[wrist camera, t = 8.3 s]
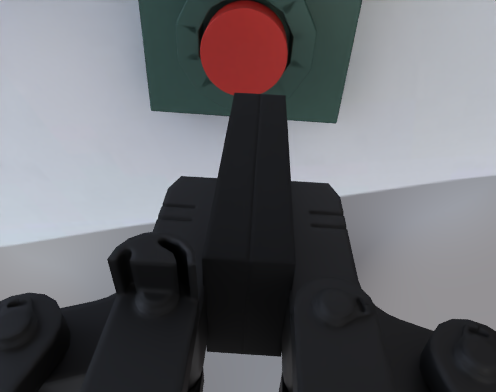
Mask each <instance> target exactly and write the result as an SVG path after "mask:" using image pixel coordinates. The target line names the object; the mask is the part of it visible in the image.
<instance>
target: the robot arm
mask: <svg viewBox="0 0 496 392" xmlns="http://www.w3.org/2000/svg"><path fill="white" fill-rule="evenodd" d="M107 260H108V264H109V267H110V271H111V274H112V278H113V282H114V286H115V289H116V293H115V294H113V295H111V296H109V297H107V298H103V299H100V300H97V301H93V302H88V303H83V304H79V305H74V306H69V307H65V308H59V306H58V304H57V302H56V301H55V300H54V299H52V298H50V297H48V296H47V295H45V294H36V293H25V294H21V295H15V296H11V297H9V298H7V299H4V300H2V301H0V392H203V384H204V373H203V364H204V358H205V351H206V346H207V351H208V352H221V353H237V354H251V355H266V356H281V353H282V377H281V383H280V388H279V392H496V331H494V330H493V329H491V328H489V327H488V326H486V325H483V324H480V323H477V322H474V321H471V320H466V319H451V320H448V321H446V322H443V323H441V324H439V325H438V326H437V328H436V330H435V331H432V330H429V329H426V328H423V327H420V326H417V325H414V324H412V323H408V322H405V321H403V320H400V319H398V318H395V317H393V316H391V315H389V314H387V313H385V312H384V311H382V310H381V309H379V308H378V307H376V306H375V305H374V304H373V302H372V300H371V298H370V297H369V296H368V295H367V294H366V293H365V292H364V291H363V290H362V289H361V286H360V283H359V281H358V277H357V272H356V268H355V263H354V259H353V254H352V250H351V245H350V240H349V236H348V231H347V229H346V222H345V218H344V216H343V209H342V204H341V199H340V197H339V195H338V194H337V193H336V192H335V191H334V189H333V188H332V187H331V186H330V185H329V184H328V183H313V182H296V181H291V176H290V159H289V142H288V126H287V109H286V95H271V94H253V93H234V97H233V102H232V107H231V112H230V117H229V123H228V128H227V133H226V138H225V143H224V148H223V153H222V158H221V163H220V168H219V173H218V178H203V177H186V176H181V177H180V178H179V179H178V180H177V181H176V182H175V183H174V184H172V185H171V186H170V187H169V188H168V190H167V193H166V196H165V199H164V202H163V207H161V210H160V213H159V215H158V219H157V221H156V224H155V227H154V229H153V232H150V233H143V234H140V235H137V236H134V237H132V238H129V239H128V240H126V241H125V242H123V243H122V244H120V245H119V246H117V247H116V248H115V250H114V251H113V252H112V254H111V255H110V256H109V258H108V259H107Z"/></svg>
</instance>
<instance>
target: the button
mask: <svg viewBox="0 0 496 392" xmlns="http://www.w3.org/2000/svg"><path fill="white" fill-rule="evenodd" d="M200 57H201V62H202V66H203V68H204V71H205V73H206V75H207V76H208V78H209V79H210V80H211V81H212V83H213V84H215V85H216V86H217V87H218V88H219V89H221V90H222V91H224V92H226V93H228V94H231V95H234V93H253V94H261V93H264V92H265V91H267V90H269V89H270V88H272V87H273V86H274V85H275V84H276V83H277V82H278V80H279V79H280V78H281V76H282V74H283V72H284V70H285V67H286V64H287V58H288V49H287V38H286V33H285V29H284V26H283V24H282V22H281V20H280V19H279V18H278V16H277V15H276V14H275V13H274V12H273V11H272V10H271V9H270V8H268V7H267V6H265V5H263V4H261V3H259V2H255V1H250V0H240V1H235V2H231V3H229V4H227V5H225V6H224V7H222V8H221V9H219V10H218V11H217V12H216V13H215V14H214V16H213V17H212V19H211V20H210V22H209V24H208V26H207V28H206V30H205V32H204V34H203V37H202V40H201V46H200Z"/></svg>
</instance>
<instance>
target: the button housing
mask: <svg viewBox="0 0 496 392" xmlns="http://www.w3.org/2000/svg"><path fill="white" fill-rule="evenodd" d="M138 1H139V10H140V18H141V27H142V36H143V45H144V53H145V62H146V71H147V80H148V88H149V97H150V106H151V111H162V112H176V113H191V114H206V115H220V116H230V112H231V107H232V102H233V97H234V95H231V94H228V93H226V92H224V91H222V90H221V89H219V88H218V87H217V86H216V85H215V84H213V83H212V81H211V80H210V79H209V78H208V76H207V75H206V73H205V71H204V68H203V66H202V62H201V57H200V46H201V40H202V37H203V34H204V32H205V30H206V28H207V26H208V24H209V22H210V20H211V19H212V17H213V16H214V14H215V13H216V12H217V11H218V10H219V9H221V8H222V7H224V6H225V5H227V4H229V3H231V2H235V1H240V0H138ZM250 1H255V2H259V3H261V4H263V5H265V6H267V7H268V8H270V9H271V10H272V11H273V12H274V13H275V14H276V15H277V16H278V18H279V19H280V20H281V22H282V24H283V26H284V29H285V33H286V38H287V49H288V58H287V64H286V67H285V70H284V72H283V74H282V76H281V78H280V79H279V80H278V82H277V83H276V84H275V85H274V86H273V87H272V88H270V89H269V90H267V91H265V92H264V93H261V94H271V95H286V109H287V120H294V121H308V122H323V123H336V122H337V118H338V113H339V108H340V104H341V99H342V94H343V89H344V85H345V80H346V75H347V70H348V66H349V61H350V56H351V51H352V46H353V42H354V37H355V32H356V27H357V23H358V18H359V13H360V8H361V4H362V0H250Z"/></svg>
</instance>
